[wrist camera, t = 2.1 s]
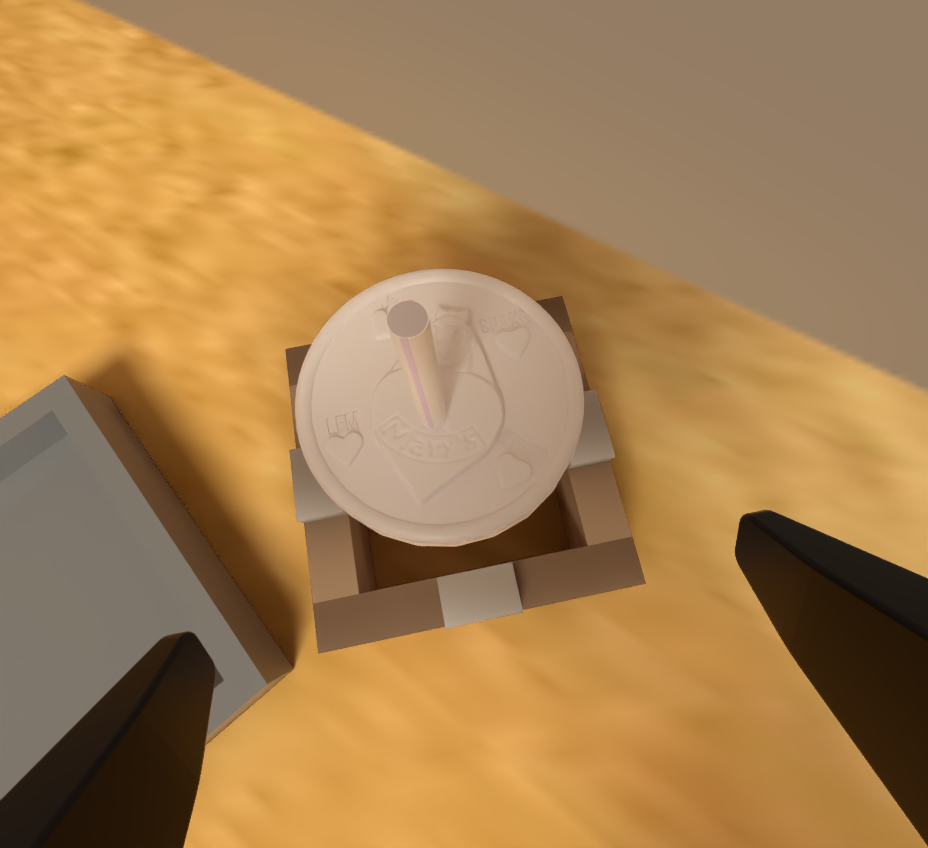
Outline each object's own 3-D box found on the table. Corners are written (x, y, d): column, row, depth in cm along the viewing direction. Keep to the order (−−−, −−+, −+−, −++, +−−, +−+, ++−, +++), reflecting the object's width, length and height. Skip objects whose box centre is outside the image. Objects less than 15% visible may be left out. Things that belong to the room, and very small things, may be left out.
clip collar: (619, 580, 18) (653, 584, 15) (343, 639, 18) (310, 657, 15) (550, 332, 21) (565, 286, 18) (311, 378, 21) (278, 340, 17)
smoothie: (362, 541, 19) (97, 489, 6) (392, 389, 21) (243, 71, 7) (525, 566, 19) (655, 572, 5) (542, 408, 20) (672, 111, 7)
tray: (294, 668, 18) (267, 684, 16) (-65, 979, 16) (-158, 1050, 13) (108, 395, 21) (63, 375, 19) (-213, 621, 19) (-309, 629, 16)
